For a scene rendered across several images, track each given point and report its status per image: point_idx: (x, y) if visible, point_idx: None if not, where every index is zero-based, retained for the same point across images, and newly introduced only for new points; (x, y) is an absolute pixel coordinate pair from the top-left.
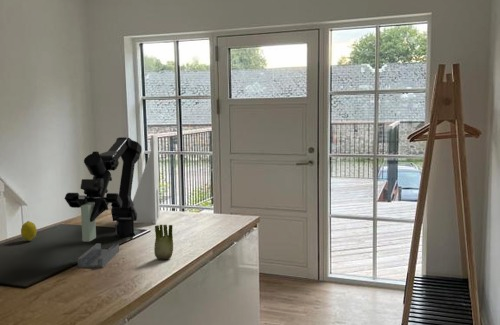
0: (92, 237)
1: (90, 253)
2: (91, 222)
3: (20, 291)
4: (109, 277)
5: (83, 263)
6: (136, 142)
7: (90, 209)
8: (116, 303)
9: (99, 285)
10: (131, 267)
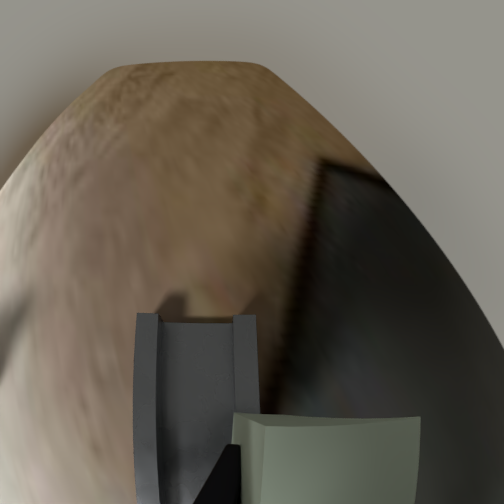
0: None
1: None
2: None
3: (319, 143)
4: (104, 224)
5: (232, 335)
6: None
7: (248, 502)
8: (87, 103)
9: (125, 169)
10: (45, 320)
